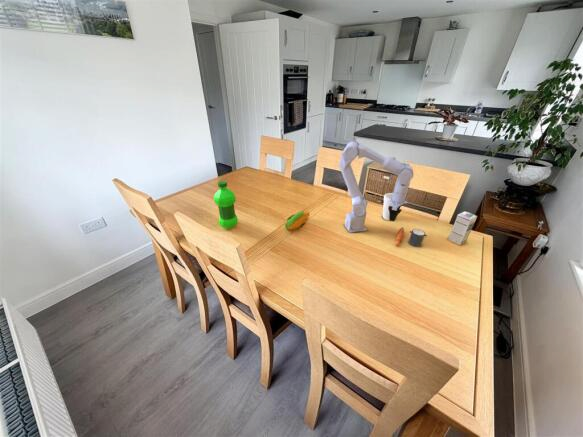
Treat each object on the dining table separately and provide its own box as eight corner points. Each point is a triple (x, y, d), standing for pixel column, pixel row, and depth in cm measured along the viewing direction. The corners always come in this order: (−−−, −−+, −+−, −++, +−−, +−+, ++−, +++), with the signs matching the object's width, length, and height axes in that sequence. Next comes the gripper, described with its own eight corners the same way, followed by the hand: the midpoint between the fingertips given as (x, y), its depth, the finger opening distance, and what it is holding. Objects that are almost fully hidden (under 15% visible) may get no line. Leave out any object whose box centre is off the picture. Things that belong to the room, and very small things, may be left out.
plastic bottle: (229, 219, 131) (223, 176, 118) (243, 225, 126) (237, 181, 112) (215, 227, 124) (206, 183, 111) (229, 233, 119) (221, 188, 106)
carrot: (399, 229, 122) (400, 225, 121) (404, 230, 121) (405, 226, 120) (393, 246, 110) (395, 241, 109) (399, 247, 109) (401, 243, 108)
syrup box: (459, 245, 111) (472, 219, 103) (447, 239, 115) (458, 213, 107) (465, 241, 113) (478, 216, 106) (453, 235, 117) (464, 210, 110)
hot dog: (281, 218, 116) (303, 203, 130) (280, 231, 121) (302, 215, 134) (293, 224, 113) (314, 208, 127) (292, 236, 117) (313, 219, 131)
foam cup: (398, 222, 128) (404, 201, 121) (380, 220, 129) (385, 199, 122) (395, 214, 135) (401, 193, 129) (378, 212, 137) (383, 192, 130)
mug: (422, 248, 108) (427, 237, 105) (406, 244, 112) (409, 232, 108) (423, 242, 113) (427, 231, 109) (407, 238, 116) (411, 227, 112)
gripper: (407, 199, 100) (399, 226, 107) (411, 187, 110) (404, 212, 118) (390, 196, 103) (383, 222, 110) (395, 184, 113) (389, 209, 121)
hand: (393, 216), depth 114 cm, fingers open, 7 cm apart
